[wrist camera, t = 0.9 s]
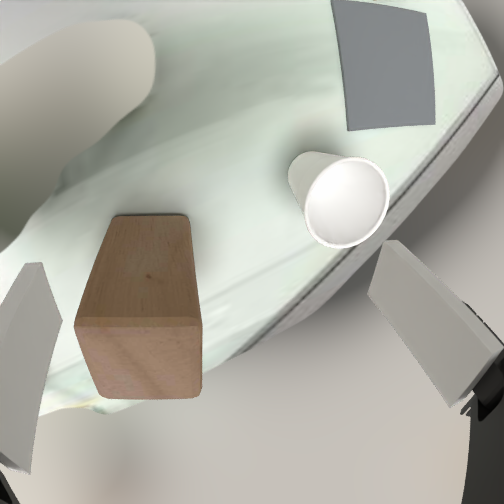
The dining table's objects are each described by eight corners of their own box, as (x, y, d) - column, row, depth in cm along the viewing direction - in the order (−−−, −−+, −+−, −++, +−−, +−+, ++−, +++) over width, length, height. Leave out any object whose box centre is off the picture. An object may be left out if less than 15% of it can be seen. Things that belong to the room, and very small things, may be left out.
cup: (354, 157, 39) (404, 184, 29) (319, 219, 42) (358, 260, 33) (295, 122, 35) (337, 138, 25) (258, 192, 38) (286, 230, 29)
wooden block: (189, 212, 38) (204, 325, 21) (188, 279, 43) (203, 401, 26) (111, 213, 35) (67, 325, 18) (118, 279, 40) (98, 402, 23)
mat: (330, 0, 27) (332, -1, 26) (423, 13, 28) (426, 13, 28) (347, 130, 36) (349, 131, 36) (433, 123, 38) (435, 124, 38)
